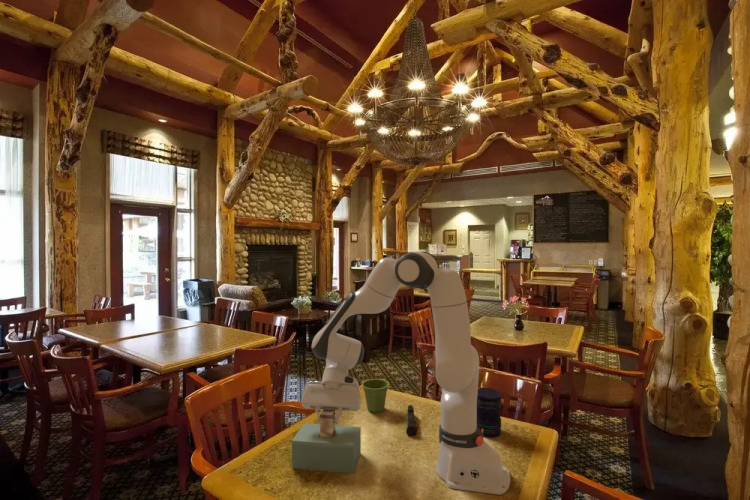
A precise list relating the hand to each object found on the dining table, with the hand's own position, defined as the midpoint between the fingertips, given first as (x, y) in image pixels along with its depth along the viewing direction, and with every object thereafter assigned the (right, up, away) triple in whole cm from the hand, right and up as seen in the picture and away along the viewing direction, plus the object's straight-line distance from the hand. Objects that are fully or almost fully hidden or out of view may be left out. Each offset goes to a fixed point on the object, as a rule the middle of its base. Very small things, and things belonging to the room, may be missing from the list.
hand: (327, 422), depth 127 cm
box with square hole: (0, -13, +1) cm, 13 cm away
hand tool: (+29, -13, +26) cm, 41 cm away
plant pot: (+16, -12, +40) cm, 45 cm away
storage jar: (+59, -13, +20) cm, 63 cm away
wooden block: (0, -7, +1) cm, 7 cm away
